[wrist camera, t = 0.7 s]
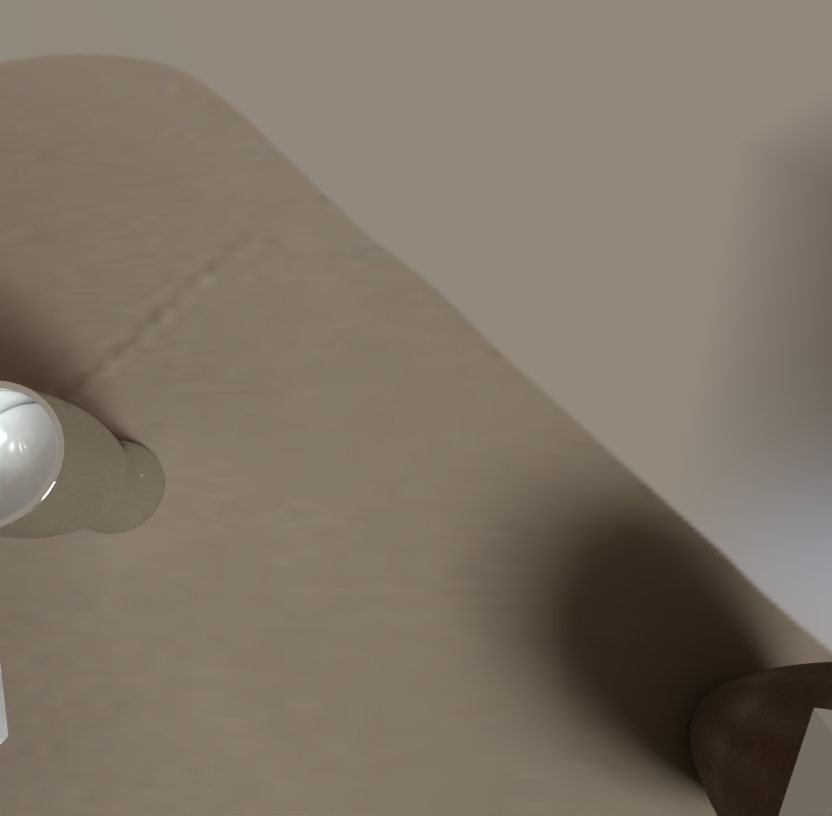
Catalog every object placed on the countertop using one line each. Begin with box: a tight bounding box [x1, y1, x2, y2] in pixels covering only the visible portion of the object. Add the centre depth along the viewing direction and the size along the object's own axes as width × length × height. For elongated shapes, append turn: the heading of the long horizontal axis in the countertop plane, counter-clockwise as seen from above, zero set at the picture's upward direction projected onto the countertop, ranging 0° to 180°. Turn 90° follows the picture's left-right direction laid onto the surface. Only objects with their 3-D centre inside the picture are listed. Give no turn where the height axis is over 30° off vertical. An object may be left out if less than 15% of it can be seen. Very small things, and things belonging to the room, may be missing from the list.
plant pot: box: [689, 662, 832, 816], centre depth 34 cm, size 15×15×16 cm
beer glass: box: [0, 381, 164, 539], centre depth 34 cm, size 7×7×15 cm
